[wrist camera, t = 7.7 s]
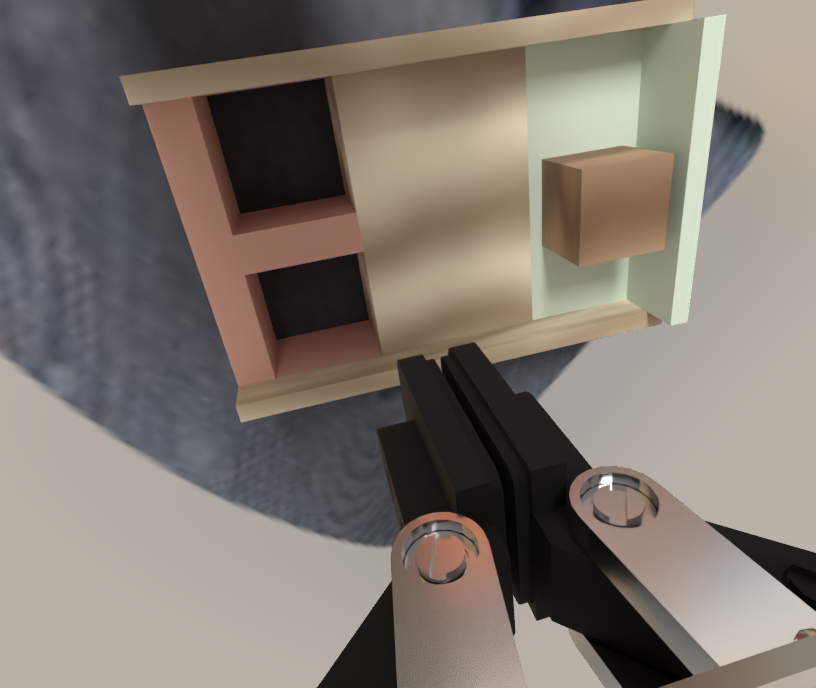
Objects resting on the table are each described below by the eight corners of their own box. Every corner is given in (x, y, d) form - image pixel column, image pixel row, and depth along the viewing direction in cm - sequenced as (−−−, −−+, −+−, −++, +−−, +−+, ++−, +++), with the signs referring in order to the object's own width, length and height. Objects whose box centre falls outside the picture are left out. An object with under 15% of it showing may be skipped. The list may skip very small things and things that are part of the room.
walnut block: (541, 159, 26) (582, 169, 23) (622, 145, 27) (674, 153, 23) (542, 245, 28) (579, 267, 25) (617, 230, 29) (663, 249, 25)
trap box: (158, 80, 25) (103, 74, 17) (606, 14, 29) (730, -16, 21) (248, 360, 33) (238, 445, 25) (596, 284, 36) (685, 338, 28)
